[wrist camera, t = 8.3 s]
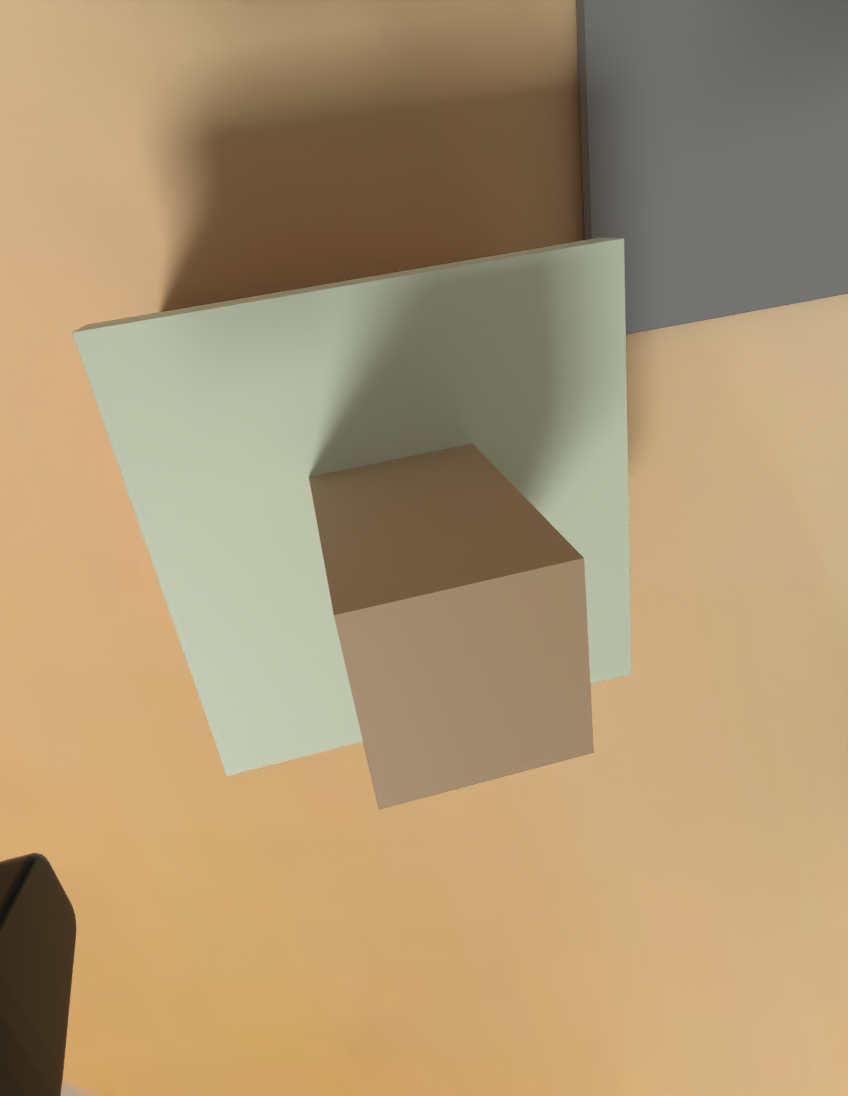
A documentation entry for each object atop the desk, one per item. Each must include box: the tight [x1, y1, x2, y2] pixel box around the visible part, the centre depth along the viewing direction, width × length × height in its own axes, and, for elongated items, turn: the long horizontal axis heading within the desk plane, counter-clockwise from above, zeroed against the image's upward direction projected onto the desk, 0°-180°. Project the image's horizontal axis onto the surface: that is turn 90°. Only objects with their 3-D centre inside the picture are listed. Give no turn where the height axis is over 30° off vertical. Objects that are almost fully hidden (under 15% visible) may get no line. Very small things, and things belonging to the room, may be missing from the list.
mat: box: [576, 0, 848, 334], centre depth 16 cm, size 12×12×1 cm
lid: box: [72, 238, 632, 809], centre depth 11 cm, size 9×9×6 cm
